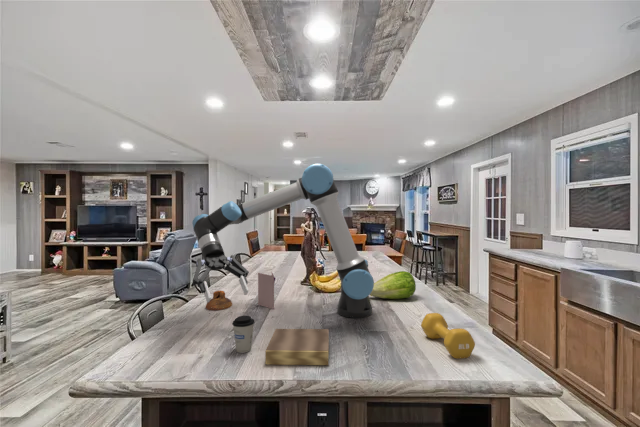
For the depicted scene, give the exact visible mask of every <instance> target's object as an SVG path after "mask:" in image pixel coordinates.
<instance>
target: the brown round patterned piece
mask: <svg viewBox="0 0 640 427" xmlns="http://www.w3.org/2000/svg"><path fill="white" fill-rule="evenodd" d="M231 307H233V301H232V300H231V299H230V298H228V297H226V293H225V291H224V290H216V291H214V292H213V293H212V297H211V299H210V301H209V302H207V301H206V304H205V309H206V310H208V311H213V312H215V311H223V310H228V309H230V308H231Z"/></svg>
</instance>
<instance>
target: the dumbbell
mask: <svg viewBox="0 0 640 427" xmlns="http://www.w3.org/2000/svg"><path fill="white" fill-rule="evenodd" d="M420 326H421V329H422V331H423V333H424V334H425V336H426V337H427V338H428V339H434V340H435V339H443V344H444V347H445V349H446V351H447V353H448V354H449V355H450V356H451V357H452V358H454V359H458V360H459V359H467V358H469V357H470V356H471V355H472V353H473V351H474V349H475V346H476V342H475V340H474V337H473V336H472V335H471V333H470V331H468V330H467V329H464V328H452V329H448V328H449V324H448V323H447V321H446V318H444V316H443V315H442V314H441V313H439V312H431V313H427V314H426V315H424V317H423V319H422V321H421V324H420Z"/></svg>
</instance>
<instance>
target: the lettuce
mask: <svg viewBox="0 0 640 427" xmlns="http://www.w3.org/2000/svg"><path fill="white" fill-rule="evenodd" d="M416 286H417V285H416V281H415V278H414V276H413V274H412V273H410V271H405V270H402V271H401V270H400V271H395V272H391V273H389V274H387V275H386V276H383V277H382V278H380V279H378V280H377V281H376V282H375V281H374V287H373V290H372V292H371V293H370V295H369V296H371V297H376V298H380V299H388V300H389V299H390V300H399V299H409V298H410V297H411V296H413V295H414V294H415V292H416V290H417V289H416V288H417V287H416Z"/></svg>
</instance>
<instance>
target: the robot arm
mask: <svg viewBox="0 0 640 427" xmlns="http://www.w3.org/2000/svg"><path fill="white" fill-rule="evenodd" d="M339 193H340V192H339V190H338V186H337V185H336V182H335V179H334V175H333V172H332V170H331V169H330V167H328V166H327V165H325V164H322V163H314V164H311V165H309V166H307V167H306V168H305V169H304V171H303V172H302V176H301V177H299V178H298V179H296V182H293V183H291V184H289V185H286V186H283V187H281V188H278V189H276V190H275V189H274V190H273V191H271V192H270V191H269V192H268V193H265V194H263V195H259V196H258V197H254V198H252V199H250V200H247V201H245V202H244V201H243V202H242V203H239V204H237V203H235V202H234V201H233V200H229V201H228V202H226V203H224V204H222V206H220V207H219V208H217V209H216V210H215V211H213V212H212V213H210V214H206V213H201V214H200V215H199V214H198V215H196V216H195V217H194V218H193V219H192V222H191V223H192V228H193V231H194V234H195V236H196V240H197V243H198V246H199V250H200V251H201V256H202V258H203V259H201V258H200V257H199V258H197V260H196V262H195V265H196V268H195V272H194V275H193V278H192V282H191V285H192V286H196V285H197V287H198V288H199V291H200V293H201V294H204V297H205V298H204V299H205V301H206V303H207V302H209V301H210V299H212V296H211V292H210V288H209V287H208V283H207V281H205V280H206V278H207V277H208V275H209V273H210V272H211V270H213V271H217V270H224V271H227V272H229V273H231V274H232V275H234V276H235V277H237V278H238V282H239V284H240V287H241V290H242V292H243V294H244V296H246V295H248V293H249V292H250V290H249V287H248V279H247V277H248V275H249V272H250V271H249V270H247V268H246V267H245V266H244V265H243V264H241V263H240V262H239V260H237V259H236V257H235V256H234V254H230V256H226V255H225V251H224V249H223V246H222V244H221V240H220V239H219V236H218V233H219V232H220V231H222V230H224V229H225V228H226V227H228V226H229V225H239V224H242V223H243V222H245V221H248V220H250V219H253V218H255V217H258V216H260V215H261V216H262V215H263V214H266V213H268V212H271V211H273V210H277V209H279V208H281V207H284V206H287V205H289V204H292V203H295V202H297V201H300V200H305V201H307V200H308V199H309V203H310V204H312V205H313V206H315V207H316V210H317V212H318V215H319V218H320V219H321V222H322V224H323V227H324V230H325V232H326V236H327V237H328V241H329V243H330V245H331V248H332V250H333V254H334V256H335V258H336V261H337V266H336V268H335V270H336V272H337V275H338V277H339V280H340V296H339V300H338V303H337V305H336V312H337V314H338V315H340V316H342V317H346V318H351V319H354V318H355V319H359V318H367V317H369V316H371V315H372V314H373V307H372V306H373V305H372V303H371V301H370V297H369V296H371V295H370V293H371V292H372V290H373V287H374V283H375V281H374V278H373V275H372V274H371V273H370V270H369V264H368V260H367V259H365V257H363V256H361V255H359V252H358V249H357V247H356V244H355V241H354V239H353V237H352V234H351V232H350V229H349V225H348V224H347V221H346V219H345V217H344V214H343V210H342V208H341V206H340V203H339V200H338V197H339V196H338V195H339ZM203 265H205V266H206V269H205V271H204V272H203V274H202V275H201V277H200V276H199V275H200V272H201V269H202V266H203ZM199 277H200V278H199Z"/></svg>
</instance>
